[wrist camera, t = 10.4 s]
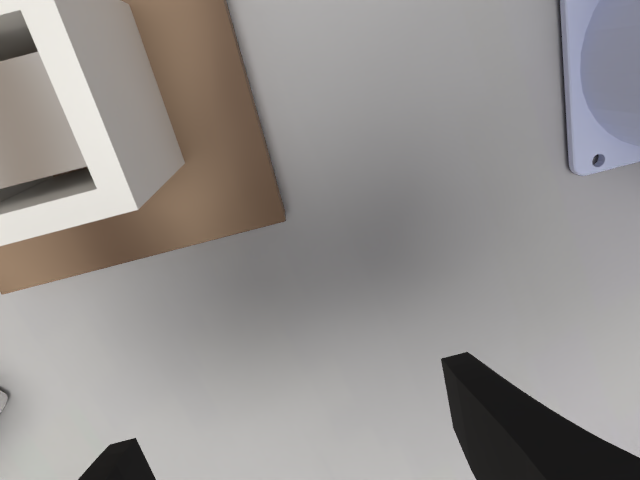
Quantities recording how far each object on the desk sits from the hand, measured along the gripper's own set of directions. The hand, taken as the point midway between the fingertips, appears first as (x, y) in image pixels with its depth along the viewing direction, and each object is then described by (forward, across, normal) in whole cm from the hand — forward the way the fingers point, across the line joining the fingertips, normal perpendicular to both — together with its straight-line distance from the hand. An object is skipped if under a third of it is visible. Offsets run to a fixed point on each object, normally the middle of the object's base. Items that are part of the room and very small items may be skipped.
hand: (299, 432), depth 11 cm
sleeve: (+8, +5, -8) cm, 13 cm away
